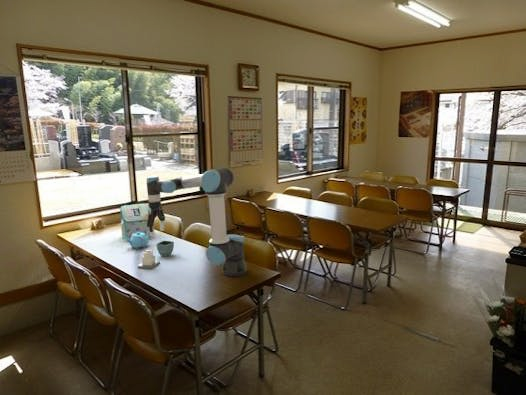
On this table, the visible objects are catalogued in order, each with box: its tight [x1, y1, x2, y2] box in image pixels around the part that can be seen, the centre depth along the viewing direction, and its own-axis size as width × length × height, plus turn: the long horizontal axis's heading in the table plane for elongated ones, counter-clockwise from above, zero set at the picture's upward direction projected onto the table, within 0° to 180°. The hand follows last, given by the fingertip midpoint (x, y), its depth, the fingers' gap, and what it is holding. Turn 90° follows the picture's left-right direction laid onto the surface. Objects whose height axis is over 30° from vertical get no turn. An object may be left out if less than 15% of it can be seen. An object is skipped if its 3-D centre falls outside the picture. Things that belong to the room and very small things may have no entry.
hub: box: [137, 257, 161, 270], centre depth 247 cm, size 10×10×6 cm
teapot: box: [124, 231, 150, 250], centre depth 284 cm, size 15×14×11 cm
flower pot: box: [156, 240, 175, 257], centre depth 266 cm, size 9×9×9 cm
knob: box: [141, 249, 156, 265], centre depth 247 cm, size 6×6×8 cm
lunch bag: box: [119, 203, 151, 240], centre depth 306 cm, size 23×16×27 cm
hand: (157, 233), depth 246 cm, fingers open, 13 cm apart
